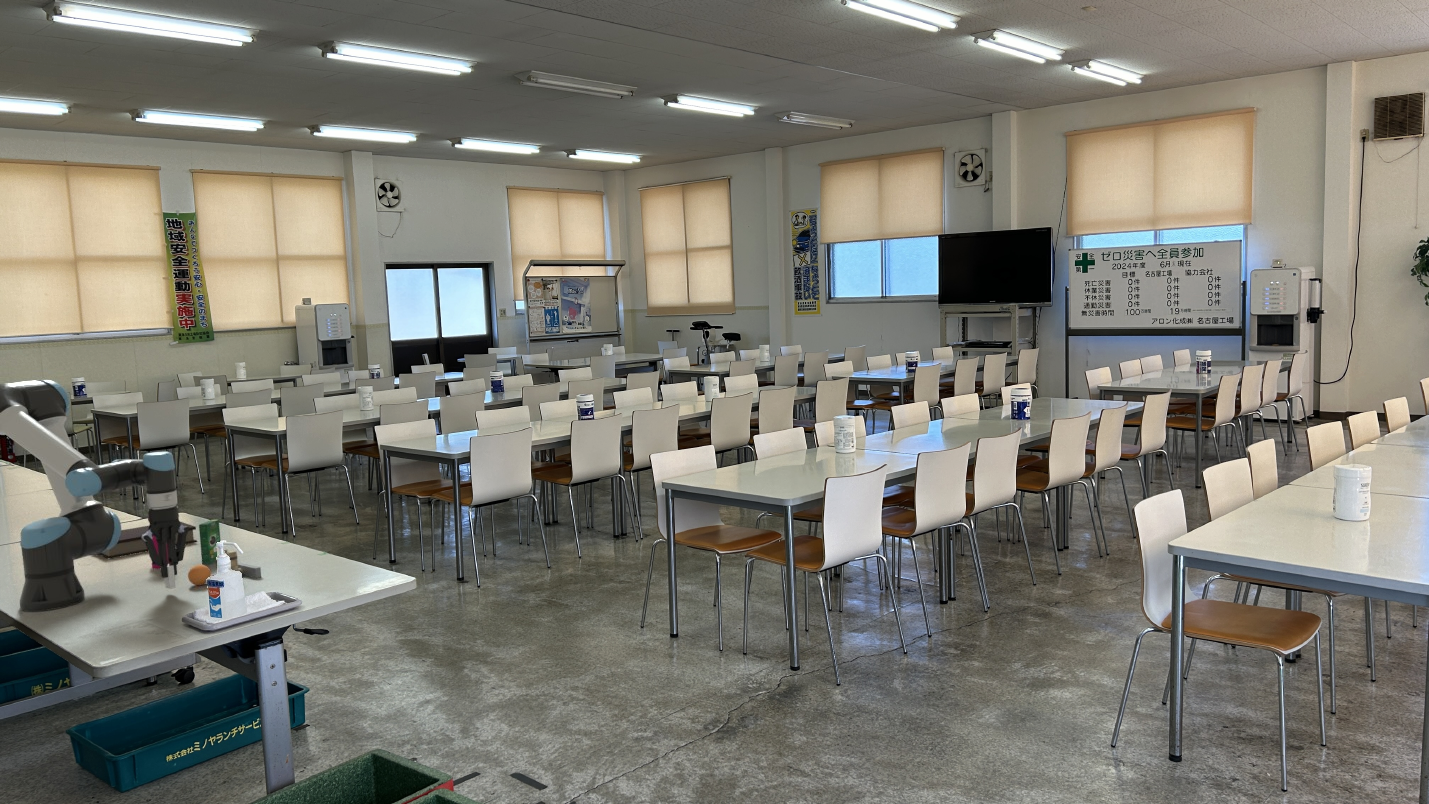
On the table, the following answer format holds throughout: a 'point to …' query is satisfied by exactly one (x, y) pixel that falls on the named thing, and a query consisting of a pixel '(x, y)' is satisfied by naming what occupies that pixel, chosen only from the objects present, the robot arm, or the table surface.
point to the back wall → (250, 570)
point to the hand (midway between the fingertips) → (170, 587)
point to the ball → (199, 574)
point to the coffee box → (209, 540)
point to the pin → (233, 560)
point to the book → (138, 541)
